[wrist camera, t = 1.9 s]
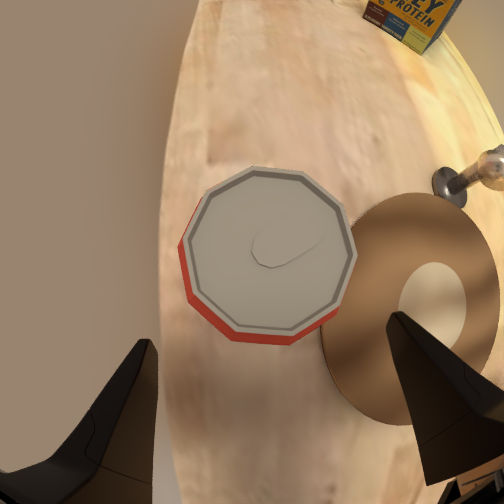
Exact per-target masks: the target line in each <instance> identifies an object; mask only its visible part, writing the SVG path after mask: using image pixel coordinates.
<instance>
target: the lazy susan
mask: <svg viewBox="0 0 504 504" xmlns="http://www.w3.org/2000/svg"><path fill="white" fill-rule="evenodd" d="M351 232H352V236H353V239H354V243H355V247H356V250H357V254H358V256H357V259H356V262H355V266H354V269H353V272H352V275H351V278H350V281H349V283H348V286H347V289H346V291H345V294H344V297H343V299H342V302H341V305H340V307H339V310H338V312H337V315H336V316H334V317H333V318H331V319H330V320H328V321H327V322H325V323H324V324H322V325H321V336H322V344H323V351H324V354H325V358H326V361H327V365H328V368H329V370H330V373H331V375H332V377H333V380H334V381H335V383H336V385H337V386H338V388H339V389H340V391H341V393H342V394H343V395H344V396H345V397H346V398H347V400H348V401H349V402H350V403H351V404H352V405H353V406H354V407H355V408H357V409H358V410H359V411H360V412H362V413H363V414H364V415H366V416H368V417H370V418H372V419H373V420H375V421H378V422H382V423H385V424H390V425H398V426H399V425H412V421H411V417H410V414H409V410H408V407H407V403H406V400H405V397H404V394H403V390H402V387H401V384H400V381H399V378H398V375H397V372H396V369H395V366H394V362H393V359H392V354H391V350H390V346H389V342H388V338H387V334H386V324H387V322H388V320H389V317H390V315H391V313H392V312H395V311H403V312H404V313H405V314H407V315H408V316H409V317H411V318H412V319H413V320H414V321H416V322H417V323H418V324H419V325H421V326H422V327H423V328H424V329H426V330H427V331H428V332H429V333H431V334H432V335H433V336H434V337H436V338H437V339H438V340H439V341H441V342H442V343H443V344H444V345H445V346H447V347H448V348H449V349H450V350H451V351H453V352H454V353H455V354H456V355H457V356H459V357H460V358H461V359H462V360H463V361H465V362H466V363H467V364H468V365H469V366H470V367H472V368H473V369H474V370H475V371H477V372H478V373H479V374H480V373H481V371H482V370H483V368H484V366H485V364H486V362H487V360H488V357H489V355H490V353H491V350H492V347H493V344H494V341H495V337H496V333H497V328H498V322H499V313H500V289H499V280H498V275H497V270H496V266H495V262H494V259H493V256H492V253H491V251H490V248H489V246H488V244H487V242H486V240H485V238H484V236H483V235H482V233H481V231H480V230H479V229H478V227H477V226H476V224H475V223H474V222H473V221H472V220H471V219H470V217H469V216H468V215H467V214H466V213H464V212H463V211H462V210H461V209H460V208H459V207H457V206H456V205H454V204H453V203H451V202H449V201H448V200H445V199H443V198H441V197H439V196H435V195H431V194H426V193H406V194H402V195H398V196H394V197H392V198H390V199H387V200H385V201H383V202H381V203H380V204H379V205H377V206H376V207H374V208H373V209H371V210H370V211H369V212H367V213H366V214H365V215H364V216H363V217H362V218H361V219H360V220H358V221H357V222H356V224H355V225H354V226H353V227H352V229H351Z"/></svg>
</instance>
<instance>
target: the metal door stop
mask: <svg viewBox="0 0 504 504" xmlns="http://www.w3.org/2000/svg"><path fill="white" fill-rule="evenodd" d="M480 181H481V183H482V184H483V185H485V186H486V187H488V188H489V189H492V190H496V191H504V145H502V144H501V145H499V146H498V147H497V148H495V149H494V150H488V151H485V152H483V153H482V154H481V155H480V156H479V159H478V161H477V162H475V163H474V164H472V165H471V166H469V167H468V168H466V169H465V170H463V171H462V172H460V173H459V174H458V173H457V172H456V171H454V170H453V169H451V168H449V167H442V168H440V169H439V170H438V171H436V172H435V173H434V175H433V178H432V187H433V191H434V194H435V196H439V197H441V198H443V199H445V200H448V201H449V202H451V203H453V204H454V205H456V206H457V207H459V208H460V209H462V208H463V207H464V206H465V205H466V202H467V190H466V189H468V188H469V187H471V186H473V185H474V184H476V183H478V182H480Z"/></svg>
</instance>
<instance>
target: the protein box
mask: <svg viewBox="0 0 504 504" xmlns="http://www.w3.org/2000/svg"><path fill="white" fill-rule="evenodd" d="M461 2H462V0H369V1H368V4H367V6H366V9H365V12H364V14H363V18H364V19H366V20H368V21H370V22H371V23H373V24H375V25H376V26H378V27H380V28H381V29H383V30H384V31H386V32H388V33H389V34H391V35H392V36H394V37H395V38H397V39H398V40H400V41H401V42H403V43H404V44H406V45H407V46H408V47H410V48H411V49H412V50H414V51H415V52H416V53H418V54H419V55H421V54H422V53H423V52H424V51H425V50H426V49H427V48H428V47H429V46H430V45H431V44H432V43H433V42H434V41H435V40H436V39H437V38H438V37H439V36H440V35H441V33H442V31H443V29H444V28H445V27H446V25H447V24H448V22H449V21H450V19H451V18H452V16H453V14H454V13H455V11H456V10H457V8H458V6H459V4H460V3H461Z"/></svg>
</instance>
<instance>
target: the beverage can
mask: <svg viewBox="0 0 504 504" xmlns="http://www.w3.org/2000/svg"><path fill="white" fill-rule="evenodd" d="M178 253H179V259H180V264H181V269H182V275H183V280H184V285H185V290H186V295H187V300H188V303H189V304H190V305H192V306H193V307H194V308H195V309H196V310H197V311H198V312H199V313H200V314H201V315H202V316H204V317H205V318H206V319H207V320H208V321H209V322H210V323H211V324H212V325H213V326H215V327H216V328H217V329H218V330H219V331H220V332H221V333H223V334H224V335H225V336H226V337H227V338H228V339H229V340H231V341H237V342H247V343H259V344H272V345H288V346H289V345H291V344H292V343H294V342H296V341H297V340H299V339H300V338H302V337H304V336H305V335H307V334H308V333H310V332H311V331H313V330H314V329H316V328H318V327H319V326H321V325H322V324H324V323H325V322H327V321H328V320H330V319H331V318H333V317H334V316H336V315H337V312H338V310H339V307H340V305H341V302H342V299H343V297H344V294H345V291H346V289H347V286H348V283H349V281H350V278H351V275H352V272H353V269H354V266H355V262H356V259H357V256H358V254H357V250H356V247H355V243H354V239H353V236H352V232H351V229H350V225H349V222H348V218H347V215H346V212H345V209H344V205H343V204H342V203H341V202H340V201H338V200H337V199H336V198H335V197H334V196H333V195H331V194H330V193H329V192H328V191H327V190H325V189H324V188H323V187H322V186H321V185H319V184H318V183H317V182H316V181H315V180H313V179H312V178H311V177H310V176H308V175H307V174H306V173H305V172H302V171H294V170H286V169H277V168H267V167H257V166H251V167H249V168H247V169H245V170H244V171H242V172H240V173H238V174H236V175H234V176H232V177H230V178H228V179H226V180H225V181H223V182H221V183H219V184H217V185H215V186H214V187H212V188H210V189H208V190H206V192H205V194H204V196H203V197H202V198H201V199H200V201H199V203H198V205H197V207H196V209H195V211H194V213H193V215H192V217H191V219H190V221H189V223H188V225H187V228H186V230H185V232H184V234H183V236H182V238H181V240H180V242H179V244H178Z"/></svg>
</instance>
